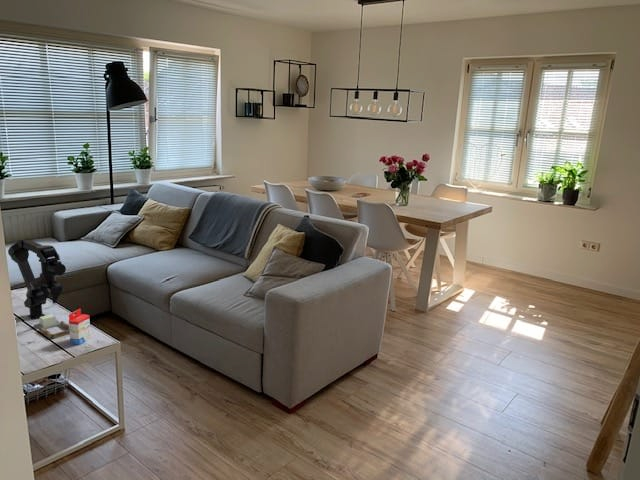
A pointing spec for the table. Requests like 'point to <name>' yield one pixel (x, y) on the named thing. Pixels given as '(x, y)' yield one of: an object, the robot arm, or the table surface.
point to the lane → (56, 333)
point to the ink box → (79, 327)
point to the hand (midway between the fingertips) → (50, 300)
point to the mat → (49, 325)
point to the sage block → (47, 320)
